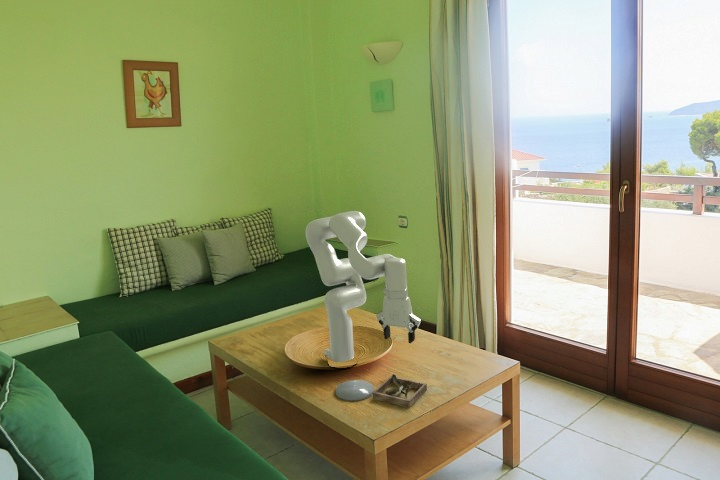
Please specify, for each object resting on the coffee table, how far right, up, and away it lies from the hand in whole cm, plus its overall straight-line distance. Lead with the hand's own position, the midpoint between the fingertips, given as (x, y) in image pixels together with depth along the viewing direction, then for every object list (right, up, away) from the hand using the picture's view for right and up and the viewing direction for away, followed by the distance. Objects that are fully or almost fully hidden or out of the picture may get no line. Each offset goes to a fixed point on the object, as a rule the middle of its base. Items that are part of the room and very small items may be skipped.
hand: (399, 339), depth 207 cm
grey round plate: (-16, -20, +7) cm, 27 cm away
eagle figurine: (0, -21, +4) cm, 21 cm away
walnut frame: (0, -20, +4) cm, 21 cm away
